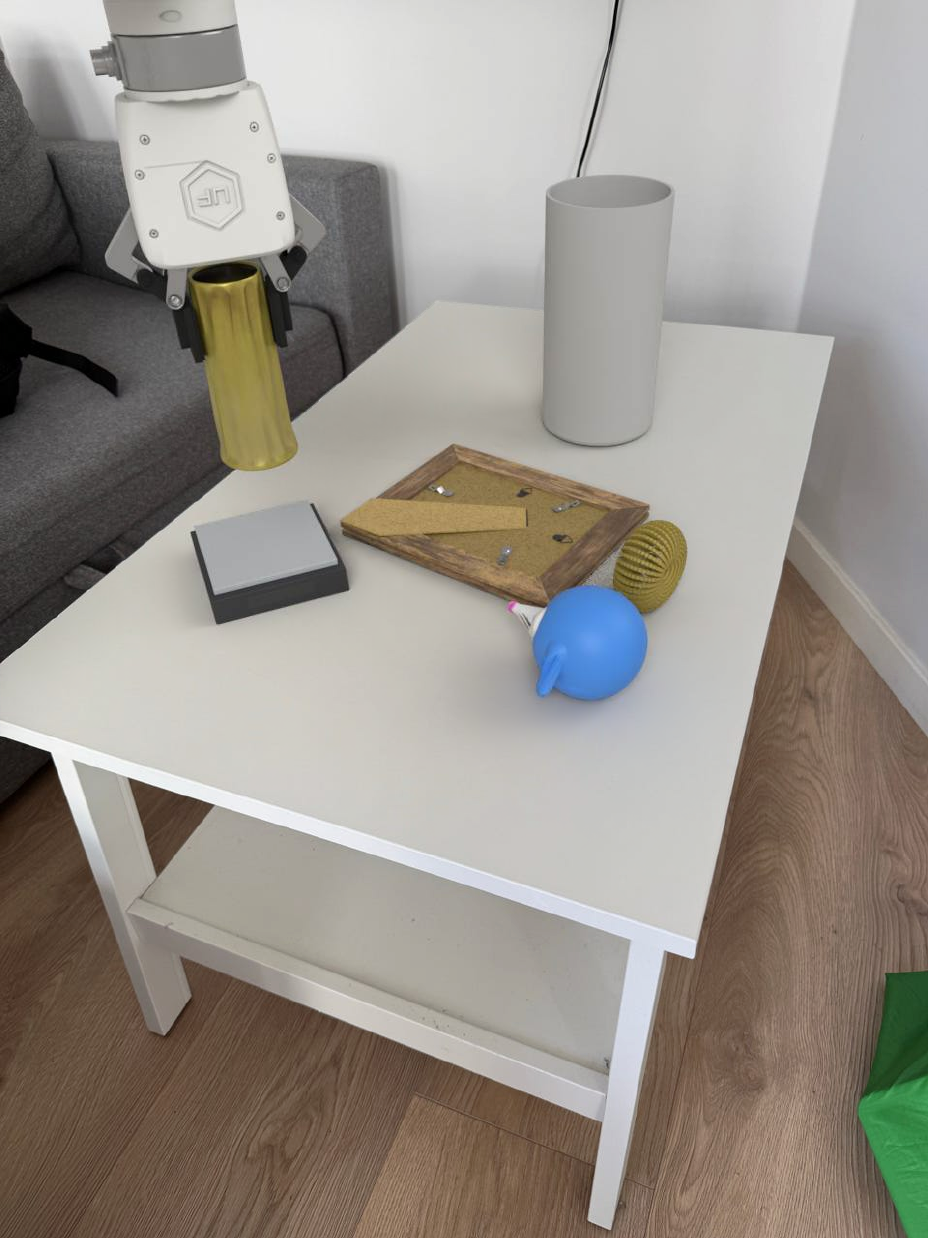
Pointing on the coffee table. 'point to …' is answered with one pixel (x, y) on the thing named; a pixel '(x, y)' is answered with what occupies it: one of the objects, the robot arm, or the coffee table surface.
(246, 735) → the coffee table surface
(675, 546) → the sculpture
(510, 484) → the picture frame
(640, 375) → the cylinder vase
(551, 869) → the coffee table surface
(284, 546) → the scale
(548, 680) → the blue mole toy
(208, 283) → the vase
